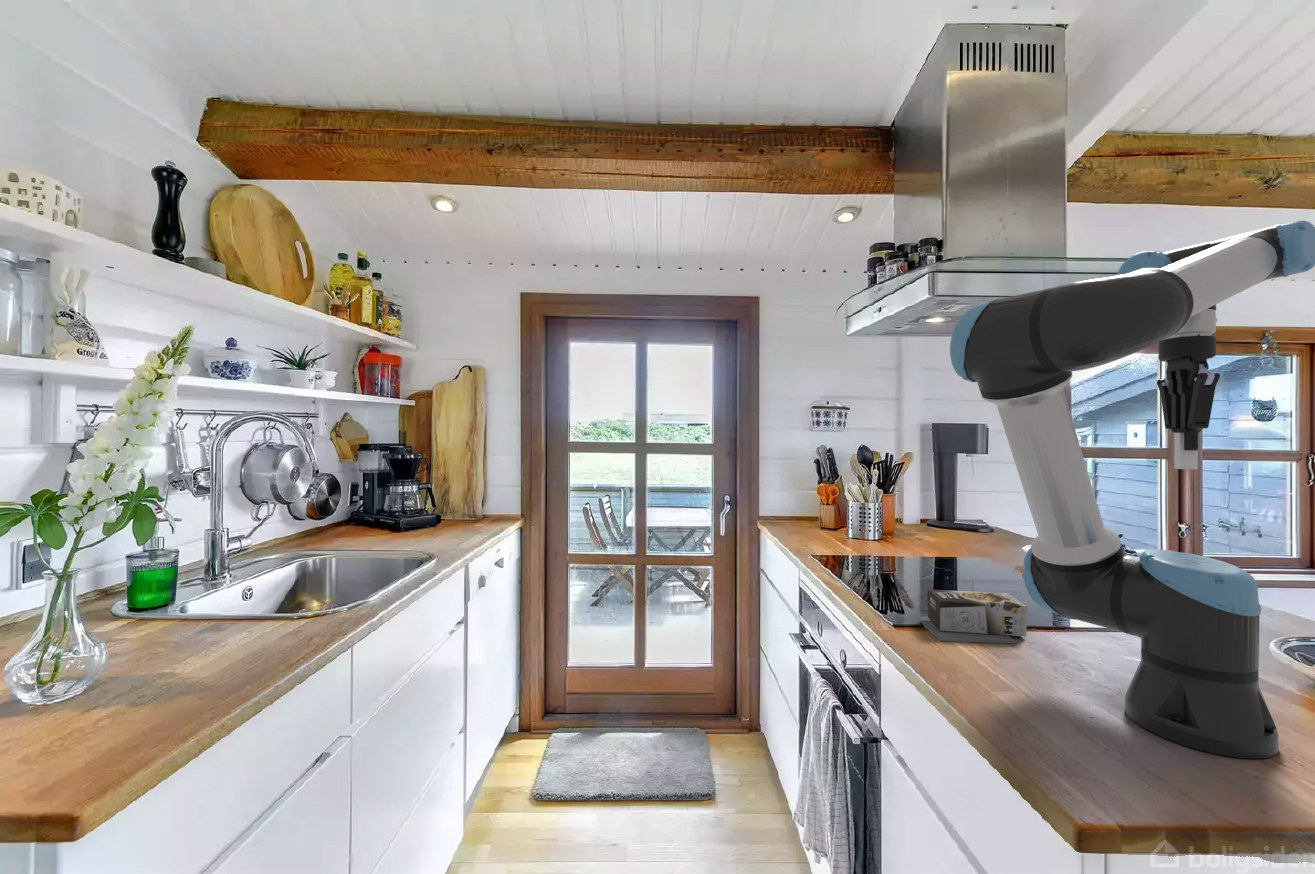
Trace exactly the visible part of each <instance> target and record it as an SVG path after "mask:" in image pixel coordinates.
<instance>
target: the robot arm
mask: <svg viewBox="0 0 1315 874" xmlns="http://www.w3.org/2000/svg"><path fill="white" fill-rule="evenodd" d="M1314 267H1315V225H1314V224H1313V223H1311V222H1310V221H1307V220H1297V221H1291V222H1287V223H1282V224H1280V223H1279V224H1275V225H1273V226H1270V227H1266V228H1262V229H1258V230H1254V231H1250V232H1249V231H1248V232H1245V233H1241V234H1237V235H1233V236H1229V237H1226V238H1221V239H1218V240H1213V241H1212V240H1211V241H1208V242H1207V241H1206V242H1204V243H1200V244H1195V245H1191V246H1187V247H1182V248H1179V249H1178V248H1177V249H1174V250H1170V251H1166V252H1162V251H1159V250H1157V251H1156V250H1152V251H1149V250H1148V251H1141V252H1138V253H1135V254H1133V255H1132V256H1130V257H1129V258H1127V259H1126V260H1125V261H1124V262H1123V263H1122V264H1121V265H1120V267H1119V269H1118V271H1117V273H1116V275H1114V276H1109V277H1102V278H1094V279H1088V280H1083V281H1082V280H1081V281H1080V280H1079V281H1075V282H1068V283H1065V284H1060V285H1058V286H1053V287H1048V288H1044V289H1041V290H1040V289H1038V290H1035V291H1030V292H1026V293H1021V294H1016V295H1013V296H1008V297H1003V298H999V297H998V298H996V299H994V300H991V301H987V302H985V303H982V304H978V305H975V306H973V307H971V308H969V309H967V311H965V312H964V313H963V314H962V315H961V316H960V318H959V319H958V320H957V322H956V324H955V326H954V329H953V330H954V331H953V333H952V334H951V337H950V344H949V355H950V361H951V365H952V368H953V370H954V372H955V373H956V374H957V376H958V377H961V378H962V380H964V381H967V382H970V383H977V386H978V389H979V392H980V395H981V398H982V399H983V401H987V402H989V403H991V404H994V405H996V407H997V411H998V414H999V416H1000V417H999V418H1000V420H1001V423H1002V426H1003V429H1004V433H1005V436H1006V438H1007V442H1008V446H1009V449H1010V451H1011V454H1012V458H1013V460H1014V464H1015V467H1016V469H1017V470H1016V471H1017V472H1018V473H1017V474H1018V477H1019V479H1020V483H1021V486H1022V489H1023V492H1024V495H1025V498H1026V501H1027V502H1026V503H1027V504H1028V508H1029V511H1030V514H1031V519H1032V521H1033V523H1034V526H1035V527H1034V528H1035V530H1036V533H1037V536H1036V537H1035V538H1034V539H1033V540H1032V541H1031V545H1030V548H1029V549H1028V550H1027V552H1026V554H1025V556H1024V558H1023V559H1024V560H1023V565H1024V567H1025V569H1023V570H1022V577H1023V582H1024V586H1025V588H1026V592H1027V593H1028V595H1029V596H1030V597H1031V599H1032V600H1033V601H1034V602H1035V603H1036V604H1037V605H1038V606H1039V607H1040V608H1041V609H1043V610H1046V611H1048V612H1051V613H1054V614H1056V615H1058V616H1061V617H1062V618H1068V619H1069V620H1076V621H1080V622H1083V623H1088V624H1091V625H1096V626H1100V627H1103V628H1106V629H1109V630H1113V631H1117V632H1120V633H1123V634H1127V635H1130V636H1134V637H1138V638H1139V639H1140V662H1139V664H1138V666H1137V668H1136V670H1135V672H1134V675H1133V676H1132V679H1131V681H1130V683H1129V685H1128V687H1127V689H1126V692H1125V695H1124V711H1125V713H1126V715H1127V717H1128V718H1129V719H1130V720H1132V721H1133V722H1134V723H1135V724H1137V725H1138V726H1140V727H1141V728H1142V729H1145V730H1146V731H1148V732H1150V733H1153V734H1155V735H1157V736H1159V737H1161V738H1164V739H1167V740H1168V741H1172V742H1175V743H1176V744H1180V745H1183V746H1185V747H1188V748H1193V749H1196V750H1199V751H1203V752H1205V753H1206V752H1207V753H1211V754H1216V755H1219V756H1227V757H1233V758H1241V759H1254V760H1255V759H1267V758H1272V757H1274V756H1276V755H1277V754H1278V753H1279V737H1280V736H1279V731H1278V728H1277V726H1276V723H1275V722H1274V721H1275V720H1274V718H1273V717H1272V714H1271V712H1270V709H1269V706H1268V704H1267V702H1266V699H1265V697H1264V695H1263V693H1262V690H1261V688H1260V683H1259V676H1260V675H1259V674H1260V673H1259V669H1260V668H1259V667H1260V665H1259V664H1260V617H1261V616H1260V615H1261V612H1262V607H1261V604H1260V601H1259V599H1260V598H1259V586H1258V583H1257V580H1256V579H1255V577H1253V575H1251V573H1249V572H1248V571H1246V570H1244V569H1242V568H1240V567H1239V566H1236V565H1234V564H1231V563H1229V562H1225V561H1222V560H1220V559H1217V558H1211V557H1208V556H1205V555H1204V556H1203V555H1199V554H1194V553H1191V552H1184V551H1183V552H1179V551H1175V550H1171V549H1170V550H1169V549H1147V550H1144V551H1143V552H1142V553H1141V555H1140V556H1137V555H1131V554H1127V553H1125V551H1124V547H1123V545H1122V541H1121V538H1120V536H1119V535H1118V533H1117V532H1115V531H1114V530H1111V528H1110V529H1109V528H1107V527H1105V526H1104V522H1103V519H1102V516H1101V513H1100V509H1099V506H1098V502H1097V499H1096V496H1095V492H1094V489H1093V486H1092V482H1091V479H1090V475H1089V473H1088V469H1087V466H1086V461H1085V458H1084V455H1083V452H1082V451H1083V450H1082V448H1081V444H1080V442H1079V439H1078V435H1077V431H1076V428H1075V425H1074V422H1073V417H1072V415H1071V411H1070V407H1069V404H1068V401H1067V397H1066V394H1065V390H1064V389H1065V387H1066V385H1067V384H1068V383H1069V382H1070V380H1071V379H1072V378H1073V372H1077V371H1078V372H1079V371H1084V370H1089V369H1092V368H1097V367H1100V366H1103V365H1106V364H1109V363H1112V362H1115V361H1118V360H1120V359H1123V358H1125V357H1128V356H1131V355H1133V354H1135V353H1137V352H1140V351H1142V350H1144V349H1147V348H1149V347H1151V346H1153V345H1156V344H1158V360H1159V361H1160V362H1166V363H1167V366H1166V370H1165V375H1166V376H1165V377H1164V379H1163V378H1162V379H1157V380H1156V386H1157V387H1158V390H1159V394H1160V401H1161V408H1162V414H1163V421H1164V427H1165V429H1166V430H1171V432H1172V433H1173V434H1174V436H1173V437H1174V440H1173V442H1174V443H1173V444H1174V445H1173V448H1174V449H1173V451H1174V452H1173V459H1174V460H1173V464H1174V465H1173V469H1174V470H1175V469H1177V470H1199V469H1198V468H1199V457H1198V456H1199V433H1201V431H1202V430H1203V429H1208V428H1209V427H1210V420H1211V414H1212V411H1213V410H1212V409H1213V403H1214V397H1215V393H1216V387H1217V384H1218V383H1219V380H1220V379H1221V373H1220V372H1211V371H1210V370H1209V367H1210V366H1209V363H1208V360H1209V359H1213V358H1215V357H1216V355H1217V338H1216V337H1215V336H1214V335H1213V334H1215V333H1216V332H1217V327H1216V325H1217V322H1218V318H1217V313H1216V311H1217V305H1218V304H1220V303H1222V302H1223V301H1226V300H1228V299H1229V298H1232V297H1233V296H1236V295H1238V294H1241V293H1242V292H1244V291H1246V290H1248V289H1250V288H1252V287H1254V286H1257V285H1258V284H1261V283H1262V282H1265V281H1267V280H1272V279H1276V278H1286V277H1287V278H1288V277H1289V276H1291V275H1297V274H1300V273H1305V272H1308V271H1310V270H1311V269H1313V268H1314Z"/></svg>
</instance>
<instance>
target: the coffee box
mask: <svg viewBox="0 0 1315 874" xmlns="http://www.w3.org/2000/svg"><path fill="white" fill-rule="evenodd" d="M926 600H927V618H928V619H929V621H932V622H933V623H934V625H935V626H936V627H937V628H938V629H939V630H940V631H951V632H965V633H979V634H996V635H1007V636H1009V637H1011V636H1012V637H1024V638H1025V637H1027V624H1028V622H1027V619H1028V618H1027V616H1028V607H1027V606H1026V605H1025V604H1024V603H1022V602H1021V601H1019V600H1018V599H1016V598H1015V597H1014V596H1012V595H1010V594H1009V593H1008V592H1007V593H1006V592H1004V593H1003V592H990V591H989V592H988V591H985V592H984V591H971V590H970V591H966V590H948V589H947V590H945V589H944V590H943V589H929V588H928V589H927V599H926Z"/></svg>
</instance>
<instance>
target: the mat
mask: <svg viewBox="0 0 1315 874" xmlns="http://www.w3.org/2000/svg"><path fill="white" fill-rule="evenodd" d="M918 621H920V622H921V623H922V624H923V625H924V626H923V625H922V624H921V623H920V622H919V623H920V624H921V625H922V626H923V627H924V628H925V629H926V630H928V632H929V633H931V635H933V636H935V638H936V639H938V640H939V641H940V642H952V643H956V642H957V643H958V642H959V643H985V644H986V643H988V644H989V643H990V644H993V643H995V644H1017V641H1016V640H1014V639H1013V638H1012V637H1011V636H1010V635H996V634H979V633H965V632H951V631H940V630H939V629H938V628H937V627H936V626H935V625H934V623H933V622H932V621H931V620H918Z"/></svg>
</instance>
